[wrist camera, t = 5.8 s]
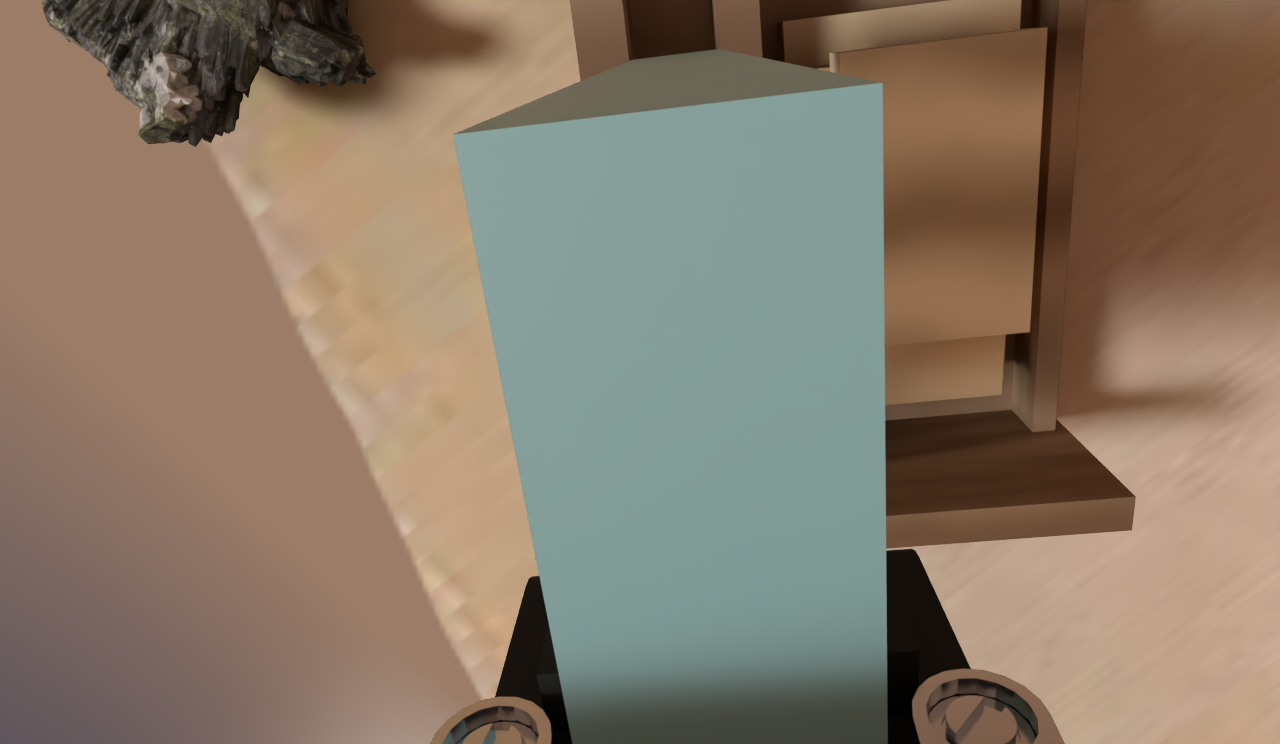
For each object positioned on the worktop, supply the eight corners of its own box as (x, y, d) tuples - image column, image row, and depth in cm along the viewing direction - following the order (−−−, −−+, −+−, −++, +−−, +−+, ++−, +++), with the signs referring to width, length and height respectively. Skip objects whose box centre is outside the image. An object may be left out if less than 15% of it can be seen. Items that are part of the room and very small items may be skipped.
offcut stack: (777, 23, 34) (796, 17, 28) (1002, -6, 33) (1068, -17, 27) (796, 381, 39) (815, 436, 34) (987, 363, 39) (1040, 416, 33)
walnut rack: (568, -54, 34) (527, -92, 25) (1062, -122, 33) (1216, -191, 23) (636, 455, 43) (624, 567, 34) (1029, 421, 41) (1131, 530, 32)
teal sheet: (631, 59, 23) (452, 135, 5) (719, 48, 23) (882, 83, 5) (680, 485, 29) (684, 1312, 10) (752, 480, 28) (892, 1313, 10)
